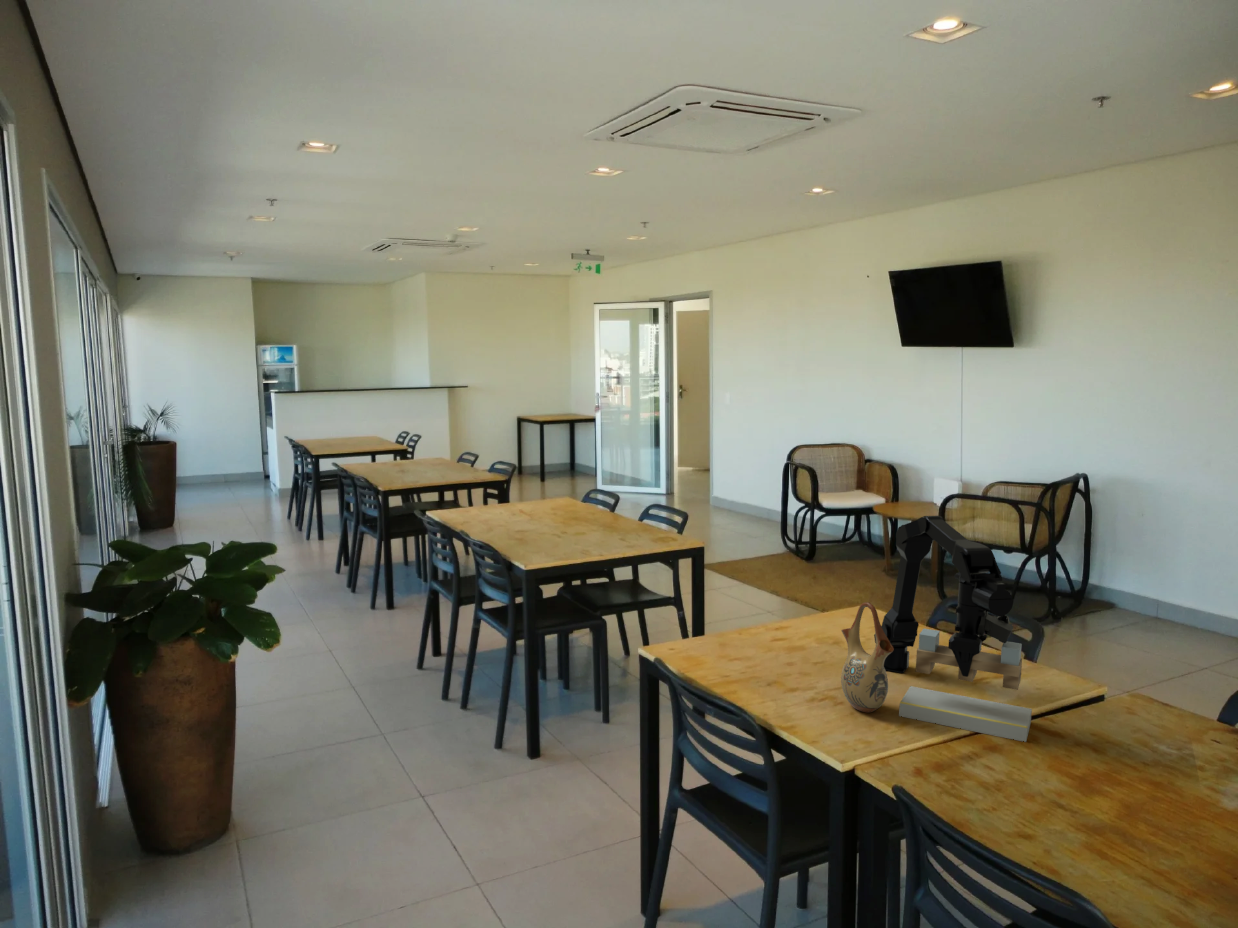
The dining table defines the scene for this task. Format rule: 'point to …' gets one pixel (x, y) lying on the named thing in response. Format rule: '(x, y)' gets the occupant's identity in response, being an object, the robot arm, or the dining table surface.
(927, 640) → the grey small block
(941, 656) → the pallet
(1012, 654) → the block
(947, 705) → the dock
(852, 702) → the ceramic vessel
